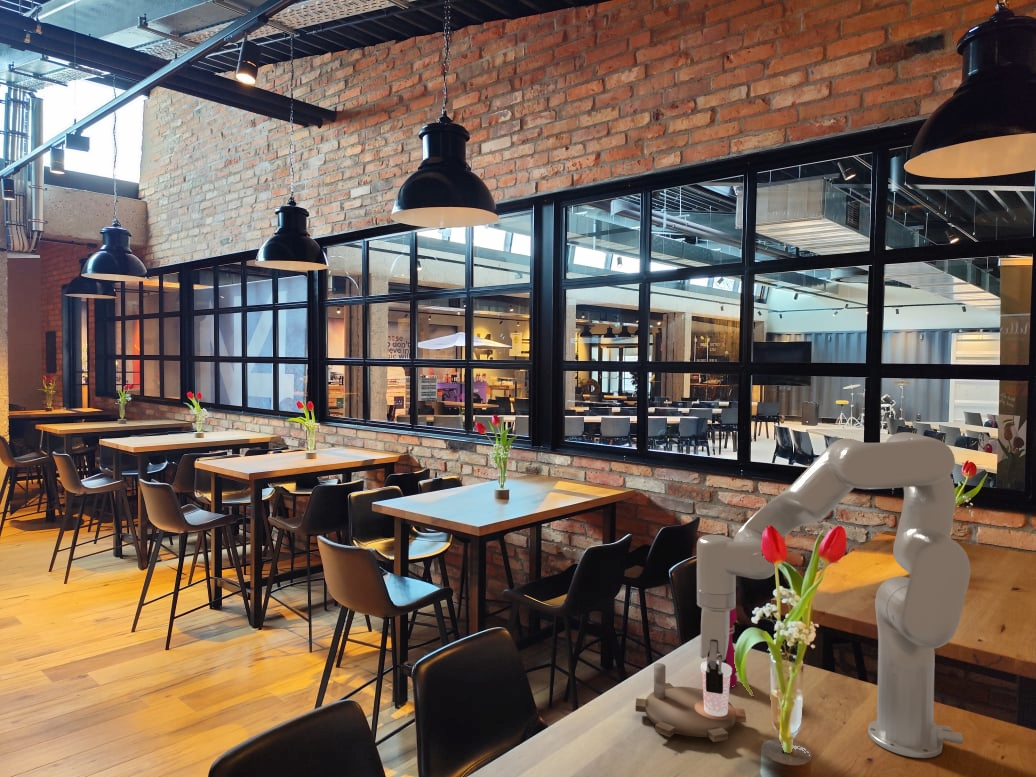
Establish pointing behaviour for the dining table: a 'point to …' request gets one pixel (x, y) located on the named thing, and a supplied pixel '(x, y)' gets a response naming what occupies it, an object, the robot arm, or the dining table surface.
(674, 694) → the sprocket
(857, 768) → the dining table surface
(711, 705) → the beverage cup
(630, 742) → the dining table surface
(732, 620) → the pepper mill
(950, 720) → the dining table surface
